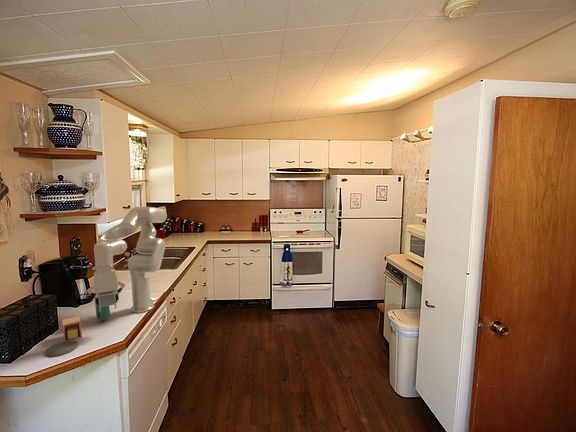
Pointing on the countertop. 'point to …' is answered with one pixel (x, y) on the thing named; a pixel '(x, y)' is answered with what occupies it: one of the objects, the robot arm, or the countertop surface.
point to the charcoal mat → (61, 348)
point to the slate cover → (107, 299)
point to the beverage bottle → (102, 312)
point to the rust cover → (71, 325)
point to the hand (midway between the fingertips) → (107, 303)
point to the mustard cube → (72, 332)
